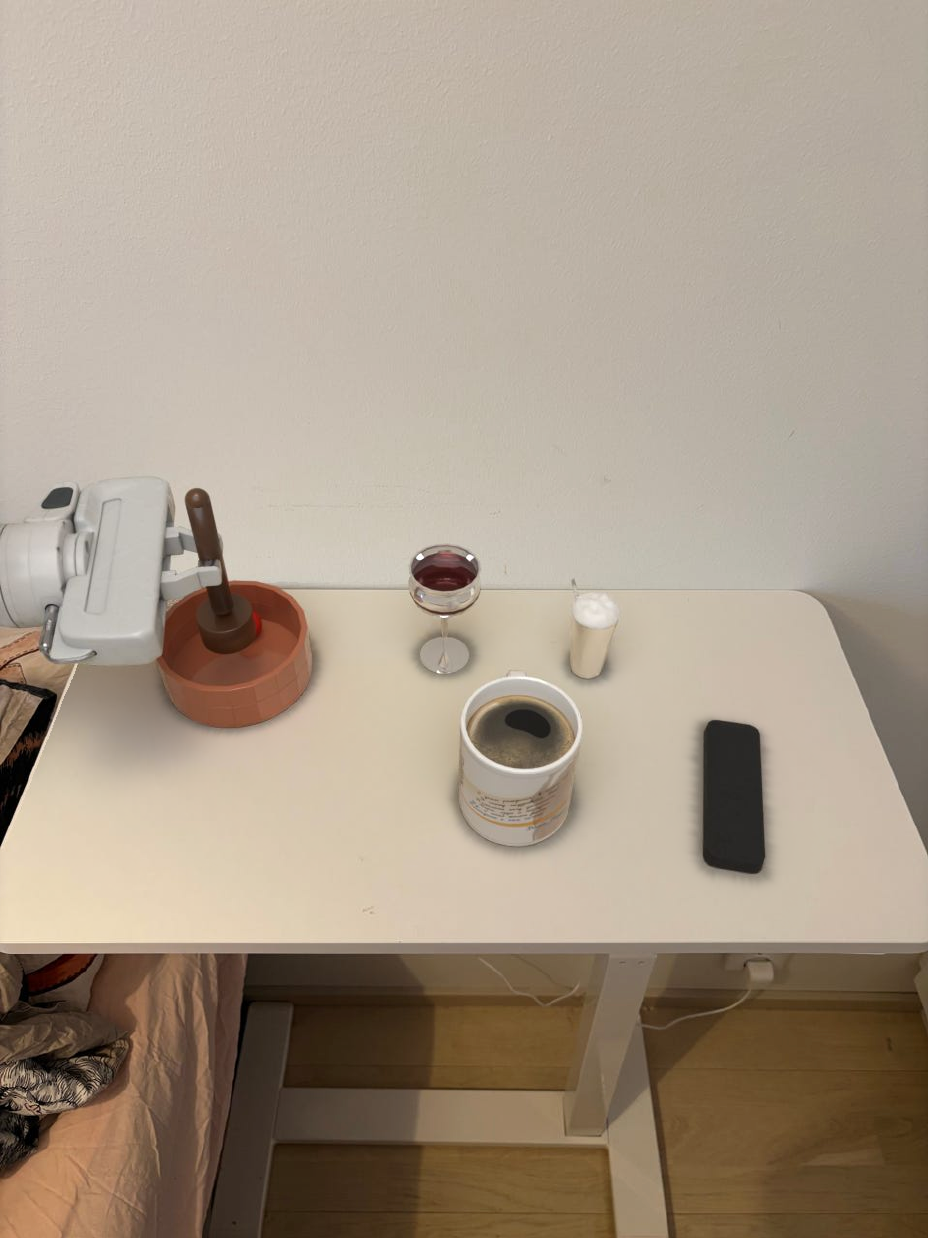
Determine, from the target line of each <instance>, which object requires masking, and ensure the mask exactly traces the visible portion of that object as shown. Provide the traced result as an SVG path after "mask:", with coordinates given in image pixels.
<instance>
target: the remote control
mask: <svg viewBox="0 0 928 1238" xmlns="http://www.w3.org/2000/svg"><path fill="white" fill-rule="evenodd" d="M761 753H762V752H761V733H760V731H759V729H758V728H756V726H753V725H752V724H747V723H740V722H734V721H729V720H728V721H727V720H722V719H711V720H710V721H708V722H707V724H706V726H705V728H704V731H703V789H702V790H703V793H702V794H703V798H702V799H703V800H702V803H703V804H702V805H703V806H702V808H703V812H702V858H703V860H704V862H705V863H706V865H708V866H711V867H713V868H717V869H722V870H729V871H735V872H740V873H745V874H758V873H759V872H761V871H762V869H763V865H764V864H765V863H764V862H765V859H766V842H765V817H764V799H763V798H764V797H763V795H764V794H763V777H762V776H763V775H762V773H763V772H762V754H761Z"/></svg>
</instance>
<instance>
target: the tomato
mask: <svg viewBox="0 0 928 1238" xmlns="http://www.w3.org/2000/svg"><path fill="white" fill-rule="evenodd" d="M252 612H253V617H254V622H255V627H256V636H257V635H258V634H259V633H260V631H261V628H262V621H261V618H260V616H259V615H258V614H257V613H256V612H254V611H252ZM256 636H255V637H256Z"/></svg>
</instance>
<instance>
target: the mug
mask: <svg viewBox="0 0 928 1238" xmlns="http://www.w3.org/2000/svg"><path fill="white" fill-rule="evenodd" d="M459 719H460V720H459V757H458V759H459V760H458V762H459V763H458V805H459V808H460V811H461V814H462V816H463V818H464V819H465V821H466V822H467V824H468V825H469V826H470V827H471V828H472V830H474V831H475V833H477V834H478V835H480V836H481V837H482V838H484V839H486V840H488V841H489V842H492V843H495V844H497V845H502V846H507V847H528V846H531V845H535V844H538V843H540V842H542V841H543V842H544V841H545V840H546V839H549V838H550V837H551V836H553V835H554V834H555V833H556V832H557V831H558V830H559V829H560V828H561V827H562V825H563V824H564V823H565V821H566V819H567V816H568V814H569V810H570V804H571V799H572V794H573V789H574V782H575V778H576V777H575V776H576V771H577V766H578V760H579V755H580V748H581V744H582V738H583V732H584V729H583V728H584V727H583V725H584V724H583V719H582V715H581V713H580V710H579V708H578V706H577V704H576V703H575V702H574V700H573V699H572V698H571V696H569V694H568V693H566V692H565V690H563V689H561V688H560V687H559V686H557V685H556V684H553V683H552V682H550V681H547V680H544V679H541V678H538V677H533V676H528V674H527V673H526V671H525V670H516V669H515V670H514V669H513V670H511V669H510V670H509V671H508V672H506V674H505V676H504V677H499V678H496V679H492V680H490V681H488V682H486V683H484V684H482V685H481V686H479V687H478V688H477V689H476V690H475V691H473V693H472V694H471V695H470V696H469V698H468V699H467V700H466V702H465V703H464V705H463V707H462V710H461V714H460V718H459Z"/></svg>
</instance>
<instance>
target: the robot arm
mask: <svg viewBox="0 0 928 1238" xmlns="http://www.w3.org/2000/svg"><path fill="white" fill-rule="evenodd" d="M175 517H176V503H175V500H174V495H173V491H172V487H171V484H170V483H169V482H168V481H167V480H165V479H163V478H161V477H157V476H151V475H148V476H147V475H144V476H143V475H142V476H127V477H116V478H115V477H113V478H107V479H101V480H100V479H99V480H95V481H93V482H91V483H88V484H87V485H85V486H84V487H82V489H81V488H80V486H79V483H78V482H76V481H71V480H69V481H66V480H65V481H59V482H57V483H55V484H54V485H52V487H50V489H49V491H48V492H47V493H46V494H45V496H43V498H42V499H41V501H40V502H39V503H38V504H37V505H36V507H35V508H34V509H32V511H30V512H29V513H28V514H27V515H26V516H25V517H24V518H23V520H22V522H21V521H20V522H12V523H11V522H10V523H8V522H7V523H3V522H0V627H6V628H10V629H30V628H36V627H37V628H39V627H42V632H41V634H40V637H39V639H38V650H39V652H40V653H42V655H43V656H44V658H45V659H46V660H47V661H49V662H50V663H52V664H54V665H57V666H58V665H59V666H65V665H74V664H83V665H91V666H93V665H94V666H115V667H116V666H141V665H148V664H151V663H152V662H154V661H156V659H157V658H159V657H160V656H161V655H162V652H163V642H164V631H165V620H166V613H167V609H168V601H174V600H175V601H176V600H181V599H182V598H184V597H185V596H187V595H189V594H191V593H193V592H195V591H197V590H199V589H201V588H204V587H206V586H216V585H220V584H221V583H222V568H221V563H220V561H219V560H218V559H211V560H199V559H198V561H197V566H194V567H192V568H190V569H187V570H184V571H182V572H179V573H177V570H175V569H171V564H172V556H181V555H184V553H185V551H188V552H191V553H196V554H198V553H197V549H196V545H195V541H194V537H193V533H192V529H189V528H186V527H183V526H175ZM218 536H219V541H220V545H221V550H222V554H223V553H224V541H223V538H222V537H223V536H222V535H221V534H220V533H219V532H218ZM223 555H224V554H223Z"/></svg>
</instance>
